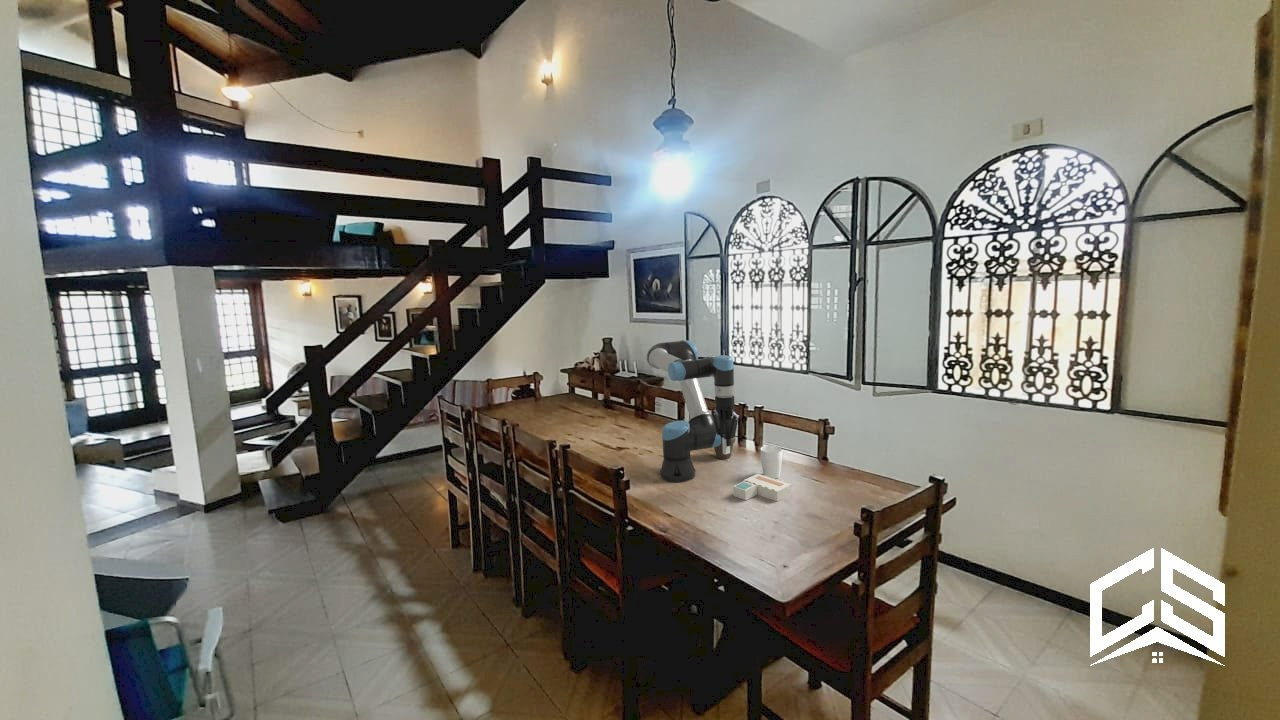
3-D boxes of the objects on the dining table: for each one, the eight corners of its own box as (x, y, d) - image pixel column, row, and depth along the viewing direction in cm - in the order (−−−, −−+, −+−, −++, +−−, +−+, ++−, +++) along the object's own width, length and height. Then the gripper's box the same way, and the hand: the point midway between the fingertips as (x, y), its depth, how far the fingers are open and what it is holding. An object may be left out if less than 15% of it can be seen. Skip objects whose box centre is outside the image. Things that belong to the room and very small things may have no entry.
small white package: (743, 489, 210) (743, 479, 209) (757, 482, 215) (757, 473, 215) (777, 501, 198) (777, 491, 197) (791, 494, 203) (791, 484, 203)
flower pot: (718, 451, 255) (717, 431, 253) (740, 454, 248) (739, 434, 246) (707, 458, 245) (706, 438, 244) (729, 462, 239) (728, 441, 237)
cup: (783, 480, 216) (783, 452, 214) (761, 480, 218) (760, 452, 216) (782, 472, 225) (781, 445, 223) (760, 471, 227) (759, 445, 225)
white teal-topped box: (733, 495, 204) (733, 485, 204) (744, 490, 209) (744, 480, 208) (745, 500, 200) (745, 490, 199) (757, 494, 204) (756, 484, 203)
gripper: (705, 395, 207) (707, 452, 211) (731, 399, 197) (733, 459, 201) (718, 391, 212) (720, 447, 216) (743, 395, 202) (745, 454, 206)
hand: (726, 453), depth 208 cm, fingers closed
